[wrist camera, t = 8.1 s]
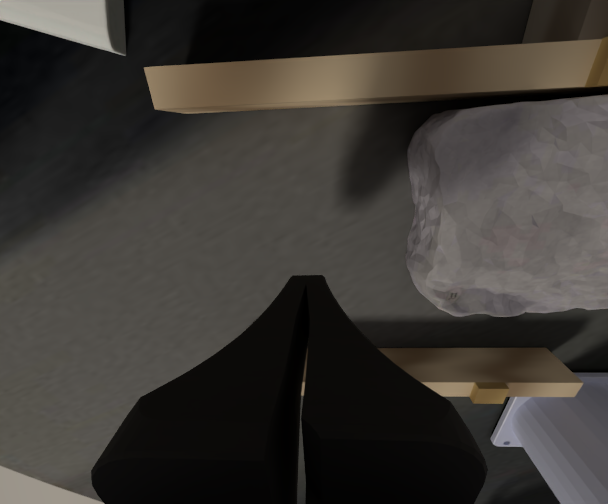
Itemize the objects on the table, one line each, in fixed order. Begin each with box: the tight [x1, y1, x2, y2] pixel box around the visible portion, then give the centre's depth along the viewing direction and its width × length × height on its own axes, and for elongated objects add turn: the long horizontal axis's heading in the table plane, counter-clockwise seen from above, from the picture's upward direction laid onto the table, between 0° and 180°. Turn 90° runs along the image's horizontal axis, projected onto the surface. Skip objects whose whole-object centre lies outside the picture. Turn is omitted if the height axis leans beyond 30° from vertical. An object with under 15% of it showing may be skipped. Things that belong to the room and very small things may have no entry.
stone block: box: [406, 94, 608, 317], centre depth 11 cm, size 12×5×10 cm
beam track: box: [144, 0, 608, 404], centre depth 11 cm, size 20×19×4 cm
